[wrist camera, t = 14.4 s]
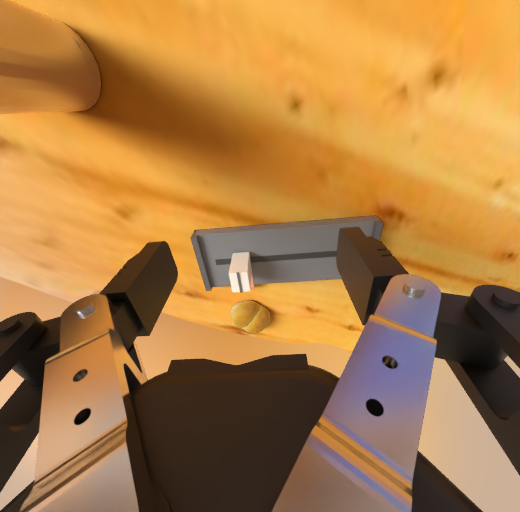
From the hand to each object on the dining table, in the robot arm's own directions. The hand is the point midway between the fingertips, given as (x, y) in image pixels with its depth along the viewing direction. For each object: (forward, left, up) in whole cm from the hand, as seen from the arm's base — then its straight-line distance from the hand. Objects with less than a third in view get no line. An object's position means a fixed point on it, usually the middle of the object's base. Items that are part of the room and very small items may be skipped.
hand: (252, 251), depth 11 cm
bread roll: (-5, -34, -28) cm, 45 cm away
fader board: (+3, -18, -28) cm, 34 cm away
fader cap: (-5, -18, -26) cm, 32 cm away
